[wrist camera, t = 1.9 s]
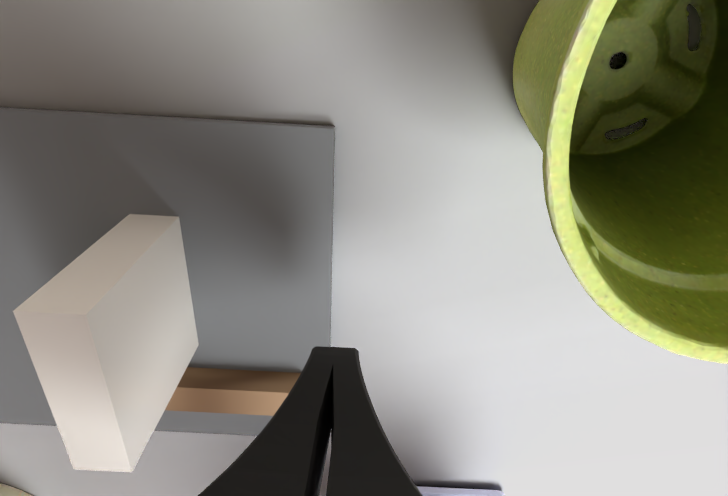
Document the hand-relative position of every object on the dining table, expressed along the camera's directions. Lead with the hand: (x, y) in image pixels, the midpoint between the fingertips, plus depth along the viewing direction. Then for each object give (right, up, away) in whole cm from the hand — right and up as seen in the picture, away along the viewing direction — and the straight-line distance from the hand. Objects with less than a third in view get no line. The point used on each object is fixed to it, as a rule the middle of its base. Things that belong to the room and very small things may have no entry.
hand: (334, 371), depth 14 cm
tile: (-7, +2, +4) cm, 8 cm away
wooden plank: (-7, -2, +6) cm, 10 cm away
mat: (-9, +2, +5) cm, 10 cm away
